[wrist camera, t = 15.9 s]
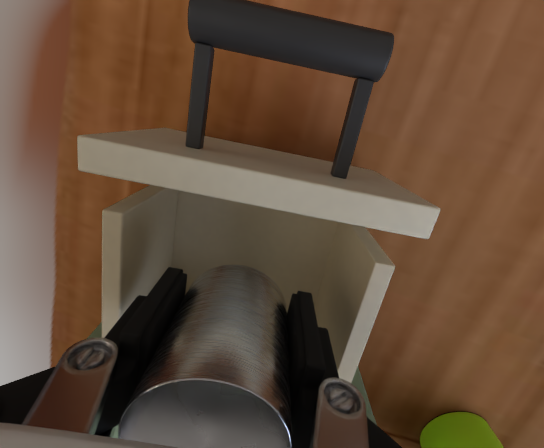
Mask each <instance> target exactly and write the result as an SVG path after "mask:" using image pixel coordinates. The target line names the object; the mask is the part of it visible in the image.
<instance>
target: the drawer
mask: <svg viewBox="0 0 544 448" xmlns="http://www.w3.org/2000/svg"><path fill="white" fill-rule="evenodd" d="M188 29H189V35H190V38H191V40H192V42H194V43H195V51H194V61H193V72H192V82H191V93H190V103H189V113H188V124H187V132H184V131H179V130H174V129H169V128H156V129H145V130H133V131H122V132H111V133H99V134H88V135H79V136H78V137H77V144H78V170H80V171H83V172H88V173H93V174H98V175H103V176H108V177H113V178H118V179H123V180H128V181H134V182H139V183H144V184H149V185H150V186H148V187H146V188H144V189H142V190H140V191H138V192H136V193H134V194H132V195H130V196H129V197H127V198H125V199H123V200H121V201H119V202H117V203H115V204H113V205H111V206H109V207H107V208H106V209H104V210H103V211H102V338H104V337H105V336H106V335H107V334H108V332H109V331H110V330H111V329H112V327H113V326H114V325H115V324H116V322H117V321H118V320H119V319H120V317H121V316H122V315H123V314H124V312H125V311H126V310H127V309H128V307H129V306H130V305H131V303H132V302H133V301H134V300H135V298H136V297H137V296H139V295H143V296H147V295H148V294H149V293H150V291H151V290H152V288H153V287H154V286H155V284H156V283H157V282H158V280H159V279H160V278H161V276H162V275H163V274H164V272H165V271H166V270H167V268H168V267H172V268H178V269H183V273H185V274H187V283H186V292H185V295H186V293H187V291H188V289H189V287H190V286H191V284H192V283H193V282H194V280H195V279H196V278H197V277H198V276H200V275H201V274H203V273H204V272H206V271H208V270H210V269H212V268H215V267H218V266H222V265H244V266H248V267H251V268H254V269H257V270H259V271H261V272H263V273H264V274H266V275H267V276H269V277H270V278H271V279H272V280H273V281H274V282H275V283H276V284H277V285H278V287H279V288H280V290H281V291H282V294H283V296H284V299H285V302H286V310H287V312H288V308H289V304H290V300H291V296H292V294H293V293H295V294H297V292H298V291H303V292H309V293H312V298H313V303H314V308H315V313H316V319H317V324H318V327H322V328H326V329H327V330H328V332H329V337H330V341H331V345H332V349H333V354H334V358H335V362H336V366H337V371H338V375H339V378H341V379H344V380H346V381H348V382H350V383H351V382H352V380H353V377H354V374H355V372H356V369H357V366H358V364H359V361H360V358H361V356H362V353H363V351H364V348H365V345H366V343H367V340H368V337H369V335H370V332H371V329H372V327H373V324H374V321H375V319H376V316H377V314H378V311H379V308H380V306H381V303H382V300H383V298H384V295H385V292H386V290H387V287H388V284H389V282H390V279H391V277H392V274H393V271H394V269H395V265H394V264H393V263H392V261H391V260H390V259H389V257H388V256H387V255H386V254H385V252H384V251H383V250H382V248H381V247H380V246H379V245H378V243H377V242H376V241H375V239H374V238H373V237H372V235H371V234H370V233H369V232H368V230H367V229H366V228H365V227H367V228H372V229H377V230H383V231H388V232H393V233H398V234H403V235H408V236H413V237H418V238H423V239H429V237H430V235H431V232H432V230H433V227H434V225H435V222H436V220H437V217H438V215H439V212H440V208H439V207H437V206H435V205H433V204H432V203H430V202H428V201H426V200H425V199H423V198H421V197H419V196H418V195H416V194H414V193H412V192H411V191H409V190H407V189H405V188H403V187H402V186H400V185H398V184H396V183H395V182H393V181H391V180H389V179H388V178H386V177H384V176H382V175H381V174H379V173H377V172H375V171H374V170H369V169H364V168H359V167H354V166H350V164H351V161H352V157H353V154H354V150H355V147H356V143H357V140H358V136H359V132H360V129H361V125H362V122H363V118H364V115H365V111H366V108H367V104H368V101H369V97H370V94H371V90H372V87H373V83H374V82H378V81H379V80H380V78H381V77H382V75H383V74H384V72H385V70H386V68H387V65H388V63H389V60H390V57H391V54H392V50H393V45H394V35H393V34H392V33H389V32H385V31H380V30H376V29H371V28H367V27H363V26H358V25H354V24H349V23H345V22H340V21H336V20H331V19H327V18H323V17H318V16H314V15H309V14H305V13H300V12H296V11H291V10H287V9H283V8H278V7H274V6H269V5H265V4H260V3H256V2H252V1H247V0H190V1H189V7H188ZM213 47H214V48H219V49H224V50H228V51H233V52H237V53H242V54H247V55H251V56H256V57H260V58H265V59H270V60H274V61H279V62H283V63H288V64H293V65H297V66H302V67H306V68H311V69H316V70H320V71H325V72H329V73H334V74H339V75H343V76H348V77H352V78H357V79H356V80H355V82H354V86H353V89H352V93H351V97H350V101H349V105H348V108H347V112H346V116H345V120H344V123H343V127H342V131H341V135H340V139H339V142H338V146H337V150H336V154H335V157H334V161H333V162H330V161H325V160H320V159H315V158H310V157H305V156H301V155H296V154H291V153H286V152H281V151H276V150H271V149H266V148H262V147H257V146H252V145H247V144H242V143H237V142H232V141H227V140H223V139H218V138H213V137H208V136H205V128H206V119H207V110H208V102H209V93H210V84H211V76H212V67H213V59H214V48H213Z"/></svg>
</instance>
